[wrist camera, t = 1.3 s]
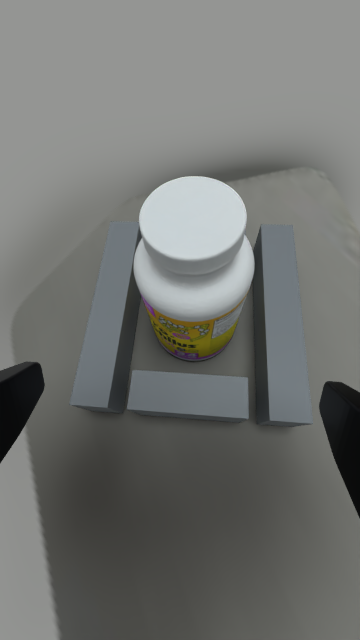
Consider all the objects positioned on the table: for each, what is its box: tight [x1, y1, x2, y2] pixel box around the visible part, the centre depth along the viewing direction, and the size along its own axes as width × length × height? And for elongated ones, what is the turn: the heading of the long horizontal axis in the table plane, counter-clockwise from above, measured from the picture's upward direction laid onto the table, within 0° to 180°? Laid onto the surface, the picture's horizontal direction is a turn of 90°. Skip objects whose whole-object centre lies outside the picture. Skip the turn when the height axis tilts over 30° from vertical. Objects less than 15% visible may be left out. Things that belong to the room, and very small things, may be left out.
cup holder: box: [69, 221, 313, 427], centre depth 22 cm, size 15×15×4 cm
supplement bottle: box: [134, 176, 255, 361], centre depth 18 cm, size 7×7×13 cm
